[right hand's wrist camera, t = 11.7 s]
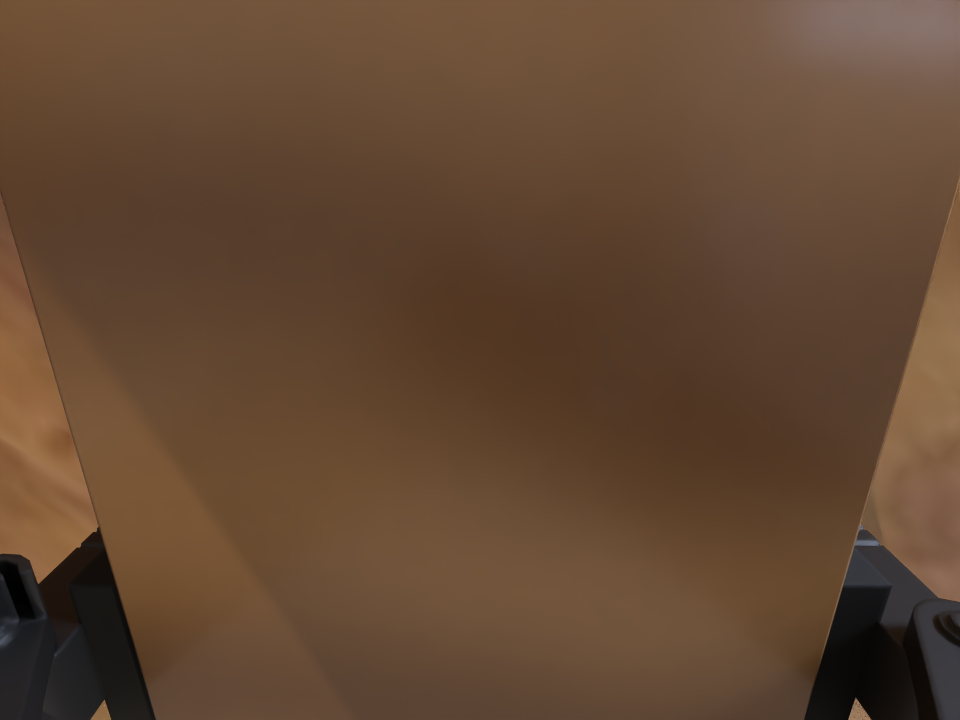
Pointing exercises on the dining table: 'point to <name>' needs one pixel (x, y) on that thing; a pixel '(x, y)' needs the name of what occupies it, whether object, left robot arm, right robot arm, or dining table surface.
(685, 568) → the wide beam
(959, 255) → the dining table surface
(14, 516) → the dining table surface
